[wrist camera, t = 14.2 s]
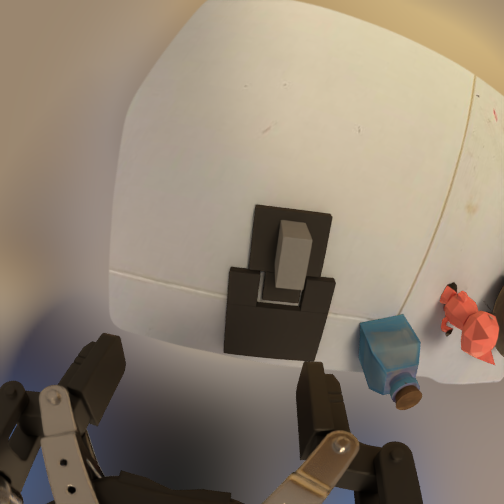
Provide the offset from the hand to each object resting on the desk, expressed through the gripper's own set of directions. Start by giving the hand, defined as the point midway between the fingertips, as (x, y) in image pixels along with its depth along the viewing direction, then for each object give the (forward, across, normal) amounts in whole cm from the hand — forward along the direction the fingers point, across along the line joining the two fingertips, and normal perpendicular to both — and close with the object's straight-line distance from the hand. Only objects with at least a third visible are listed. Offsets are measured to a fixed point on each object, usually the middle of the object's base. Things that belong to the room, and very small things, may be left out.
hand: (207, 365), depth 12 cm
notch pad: (+22, -5, +12) cm, 25 cm away
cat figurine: (+22, -29, +8) cm, 37 cm away
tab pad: (+22, -5, +4) cm, 23 cm away
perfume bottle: (+22, -20, +14) cm, 33 cm away
